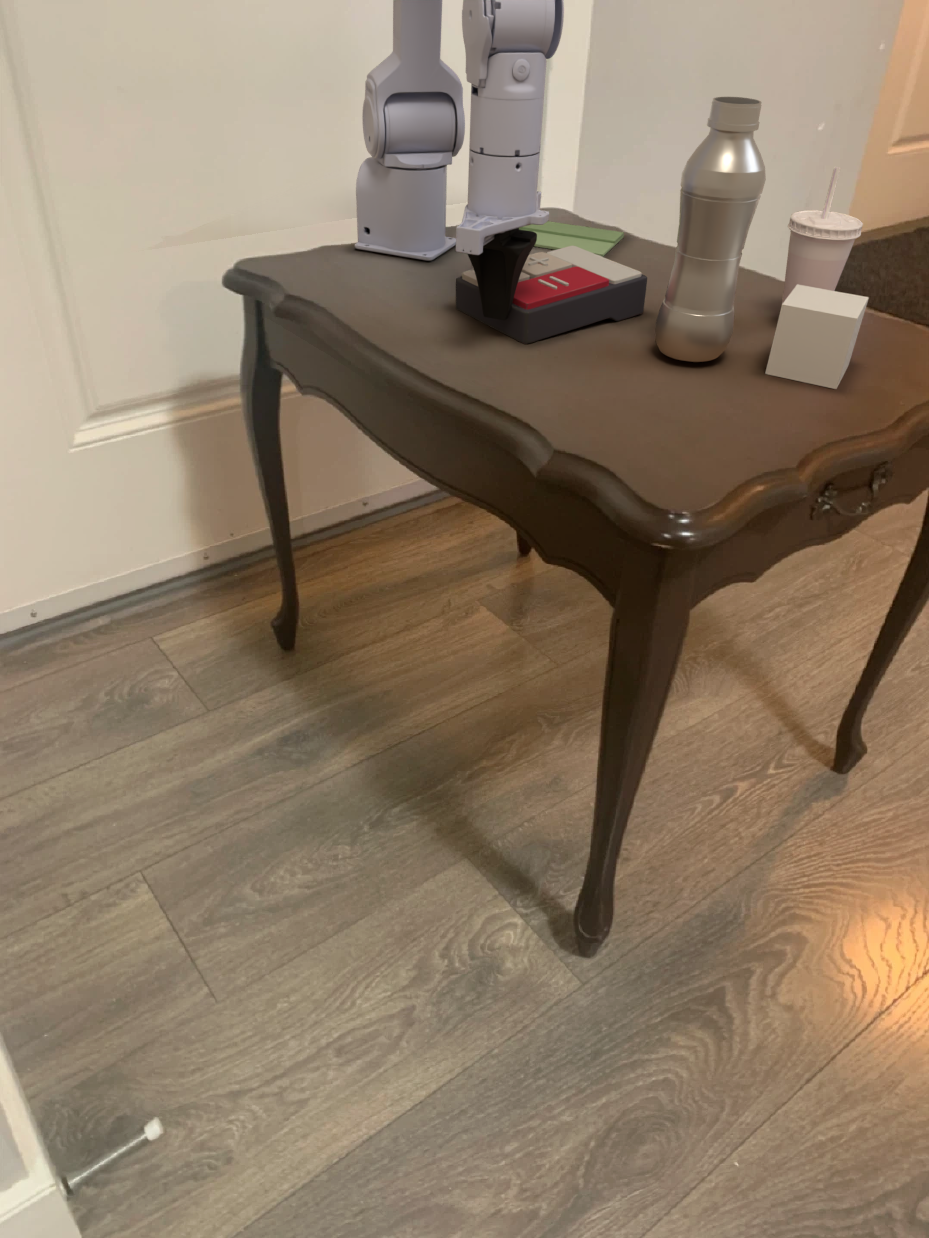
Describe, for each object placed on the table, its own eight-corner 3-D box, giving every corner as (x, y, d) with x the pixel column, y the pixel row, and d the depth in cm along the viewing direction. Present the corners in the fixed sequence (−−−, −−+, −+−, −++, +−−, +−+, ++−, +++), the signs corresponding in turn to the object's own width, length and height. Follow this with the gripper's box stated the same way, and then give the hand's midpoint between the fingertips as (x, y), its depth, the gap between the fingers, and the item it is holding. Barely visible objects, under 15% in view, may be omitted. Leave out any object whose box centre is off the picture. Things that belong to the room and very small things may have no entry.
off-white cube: (764, 374, 80) (781, 304, 76) (780, 351, 84) (796, 284, 80) (837, 389, 78) (857, 318, 74) (849, 365, 82) (869, 297, 78)
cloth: (487, 239, 109) (487, 234, 108) (514, 221, 115) (514, 215, 115) (602, 257, 105) (603, 251, 104) (623, 237, 111) (624, 232, 111)
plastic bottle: (636, 347, 83) (675, 95, 71) (699, 339, 86) (747, 92, 74) (676, 375, 79) (725, 110, 67) (742, 365, 81) (800, 106, 69)
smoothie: (753, 324, 89) (789, 165, 81) (785, 308, 93) (822, 155, 85) (815, 342, 86) (859, 179, 77) (845, 325, 90) (891, 168, 81)
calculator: (453, 269, 88) (573, 238, 94) (453, 314, 90) (570, 281, 97) (526, 304, 81) (650, 268, 88) (524, 352, 84) (645, 313, 90)
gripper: (519, 173, 68) (508, 352, 77) (579, 140, 79) (563, 300, 87) (432, 162, 70) (430, 337, 79) (501, 132, 81) (494, 289, 89)
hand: (495, 317), depth 83 cm, fingers closed
